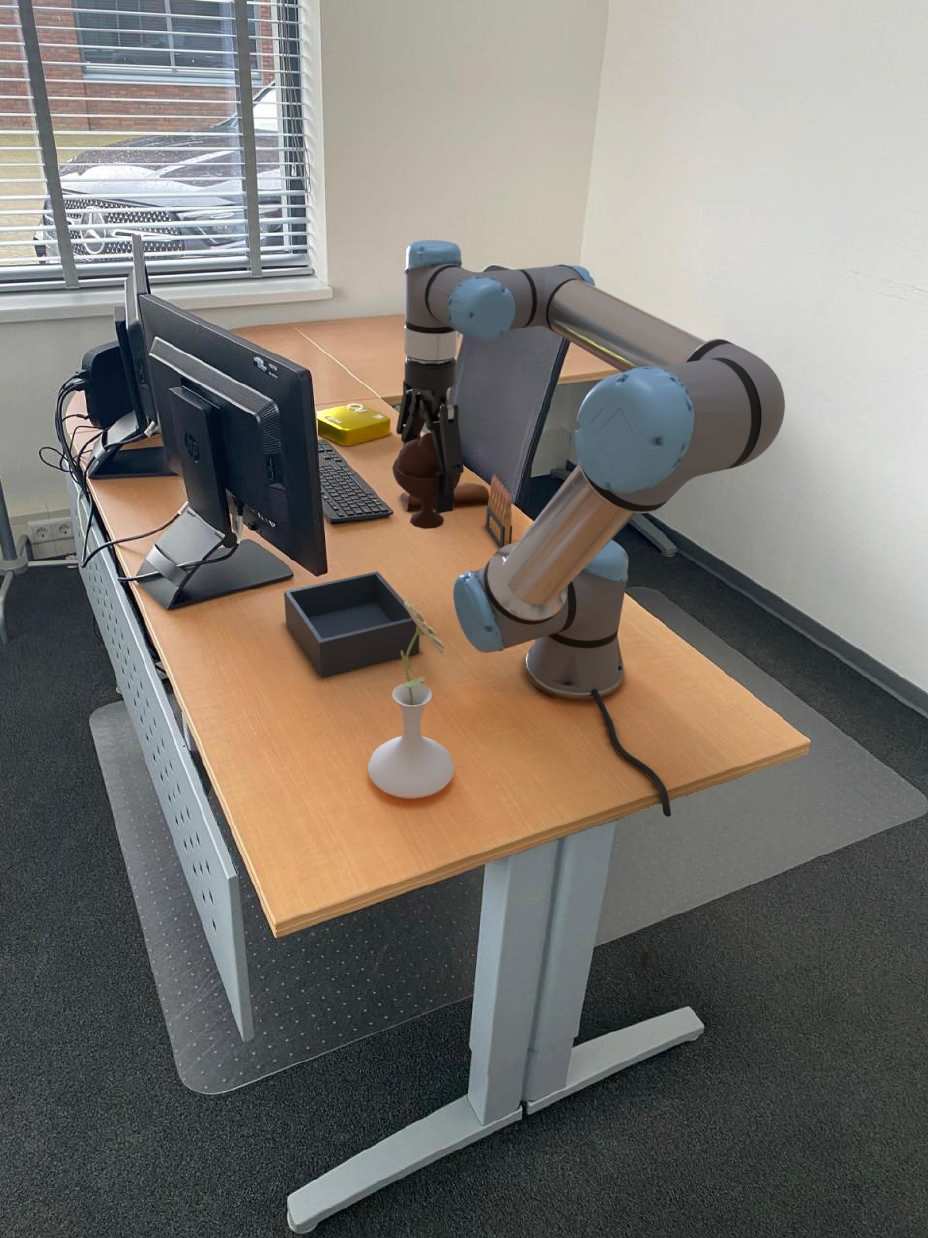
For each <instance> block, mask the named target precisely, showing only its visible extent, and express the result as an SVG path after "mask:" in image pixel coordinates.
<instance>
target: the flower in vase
mask: <svg viewBox="0 0 928 1238" xmlns="http://www.w3.org/2000/svg"><path fill="white" fill-rule="evenodd" d="M404 604H405V607H406V609H407V611H408V612H409V614H410V616H411V617H412V619H413V620H414V622H415V623H416V625H417V628H416V633H415V635H414V637H413V639H412V641H411V643H410V646H409V648H408V650H407V653H406V656H405V655H404V653H403V651H401V656H402V657H401V659H402V661H403V663H404V669H405V676H406V681H407V682H404V683H401V684H399V685H398V686H396V687H395V688H394V689H393V690H392V694H391V696H392V699H393V700H394V701H395V702H396V703H397V704H398V706H399V708H400V711H401V716H402V725H403V726H402V734H401V735H399V736H396V737H393V738H391V739H389V740H387V741H385V742H384V743H382V744H381V745H379V746H378V747H377V748H376V749H375V750H374V751H373V753H372V755H371V756H370V759H369V760H368V765H367V772H368V777H369V778H370V780H371V781H372V783H373V784H374V785H375V786H376V787H377V788H378V789H379V790H381V791H382V792H383V793H385V794H387V795H389V796H392V797H395V798H400V799H408V800H409V799H410V800H413V799H415V800H417V799H424V798H427V797H430V796H433V795H435V794H437V793H438V792H440V791H441V790H442V789H444V788H445V787H446V786H447V785H448V784H449V783H450V782H451V780H452V778H453V776H454V774H455V773H454V772H455V764H454V761H453V758H452V756H451V754H450V753H449V751H448V750H447V749H446V747H444V746H443V745H442V744H440V743H438V742H437V741H435V740H433V739H431V738H429V737H426V736H422V731H421V725H422V724H421V723H422V716H423V712H424V709H425V706H426V705H427V704H428V703H430V702H431V700H432V698H433V691H432V690H431V688H430V687H428V686H427V685H426V684H423V683H424V682H425V681H426V678H425V677H424V676H418V677H415V678H413V679H412V680H411V679H410V673H409V670H411V665H410V663H409V656H410V655H409V653H410V650H411V648H412V646H413V643H414V641H415V639H416V638H417V636H418V635H419V636H422V637H423V636H424V637H425V638H426V640H427V641H428V642H429V643H430V644H431V646H433V647H434V649H436V651H437V652H439V654H441V655H442V656H444V655H445V653H446V651H445V648H446V646H445V645H444V643H443V642H442V641H440V640H439V639H438V638H437V637H436V636H437V632H436V631H435V630H434V628H432V627H430V626H428V624H427V623H426V619H425V617H424V615H423V614H422V612H421V611H420V610H419V611H418V610H417V608H416V606H415V605H414V603H413V602H412V601H411V600H410V601H409V602H408V600H406V601H404Z"/></svg>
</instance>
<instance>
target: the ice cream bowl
mask: <svg viewBox="0 0 928 1238" xmlns="http://www.w3.org/2000/svg"><path fill="white" fill-rule="evenodd" d="M463 466H464V463H463ZM391 469H392V474H393V477H394V480H395V481H396V483H397V484H398V486H400V487H401V489H403V490H404V491H405V492H407V493H409V494H410V495H411V496H413V497H415V498H417V499H421V501H422V507H421V510H419V511H417V512H415V513H412V515H411V517H410V520H409V523H410V525H412V526H413V527H415V528H419V529H422V530H429V529H430V530H433V529H438V528H440V527H442V526H443V525H444V522H445V518H444V516H443V515H441V513H439V514H437V513H436V512H435V510H434V509H433V508H434V505H433V501H434V500H436V473H435V472H437V471H440V470H439V466H438V461H437V457H436V452H435V448H434V444H433V439H432V435H431V432H426V433H425V434H423V435H422V436H421V438H420V439H415V440H412V441H410V442H407V443H406V444H405V445H404V446H403V445H402V447H401V449H400V450H399V452H398V455H397V457H396V458H395V460H394V463H393V465H392V467H391ZM461 477H462V473H459V474H455V481H454V489H455V488H456V486H457V485H458V483H460V480H461Z"/></svg>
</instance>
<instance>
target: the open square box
mask: <svg viewBox="0 0 928 1238" xmlns="http://www.w3.org/2000/svg"><path fill="white" fill-rule="evenodd" d="M283 598H284V599H283V600H284V614H285V625H286V627H287V628H288V630H289V631H290V633H291V634H292V636H293V637H294V639H295V640H296V641H297V643H298V645H299V646H300V648H301V649H302V651H303V652H304V654H305V656H306V657H307V658H308V660H309V661H310V663H311V664H312V667H313V668H314V669H315V670H316V672H317V673H318V675H319V677H320V678H327V677H330V676H334V675H338V674H341V673H345V672H349V671H354V670H357V669H361V668H365V667H368V666H372V665H376V664H380V663H384V662H389V661H392V660H396V659H400V658H402V656H401V651H403V653H404V655H405V656H406V653H407V650H408V648H409V646H410V643H411V641H412V639H413V637H414V635H415V633H416V628H417V625H416V623H415V622H414V620H413V619H412V617H411V616H410V614H409V612H408V611H407V609H406V607H405V604H404V602H405V601H404V599H403V598H402V597H401V596H400V594H398V592H396V591H395V589H394V588H393V587H392V586H391V585H390V584H389V582H388V581H387V580H386V579H385V578H384V577H383V575H382V574H381V573H379V571H373V572H367V573H364V574H359V575H353V576H349V577H345V578H340V579H335V580H331V581H326V582H321V583H317V584H311V585H307V586H302V587H297V588H293V589H288V590H284V591H283ZM419 653H420V635H418V636H417V638H416V639H415V641H414V643H413V646H412V648H411V650H410V653H409V656H410V655H415V654H419Z"/></svg>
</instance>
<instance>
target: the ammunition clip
mask: <svg viewBox="0 0 928 1238" xmlns="http://www.w3.org/2000/svg"><path fill="white" fill-rule="evenodd" d="M490 481H491V482H490V487H489V502H488V504H487V505H486V516H485V530H486V531H487V532H488V534H489V535H490V537H491V538H492V539H493V541H494V542H495V544H496V545H497V547H498V548H499V549H501V548H502V547H504V546H506V545H508V544H512V537H513V525H512V518H513V517H512V516H513V513H512V495H511V492H508V488H506V487H505V484H502V481H501V480H499V477H497V475H496V474H495V473H494V474H493V475H492V477H491V480H490Z"/></svg>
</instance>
